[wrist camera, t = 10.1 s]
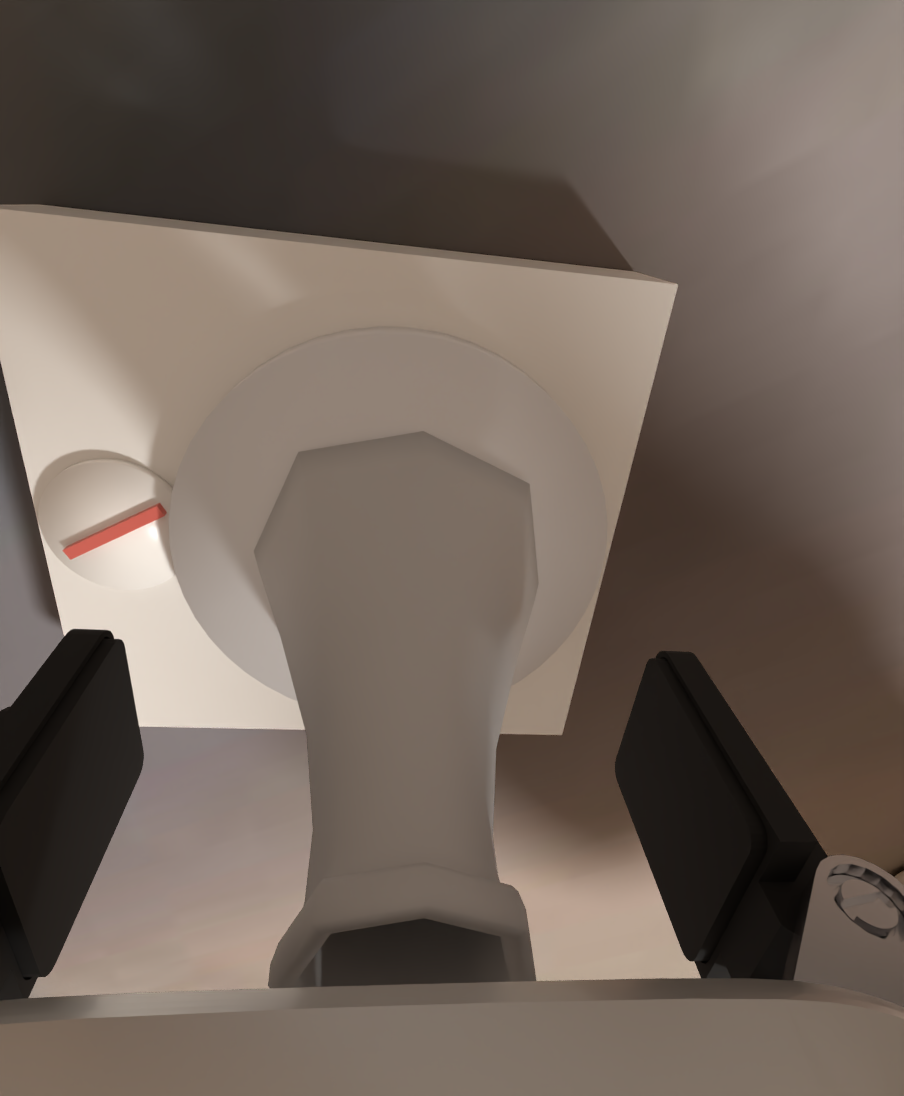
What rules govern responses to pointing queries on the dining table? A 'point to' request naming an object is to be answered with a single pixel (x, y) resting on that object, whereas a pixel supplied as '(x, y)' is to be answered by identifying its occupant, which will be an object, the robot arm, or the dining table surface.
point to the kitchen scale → (299, 425)
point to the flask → (401, 706)
